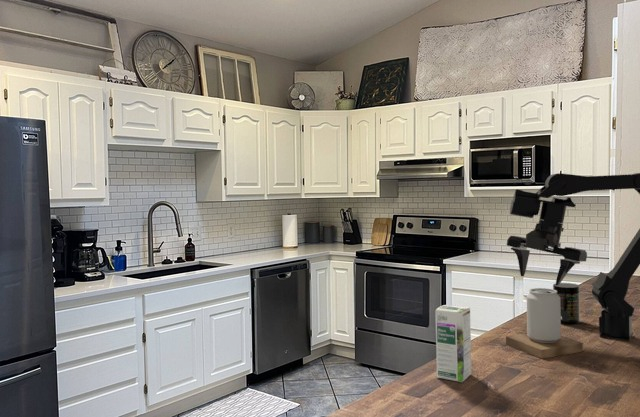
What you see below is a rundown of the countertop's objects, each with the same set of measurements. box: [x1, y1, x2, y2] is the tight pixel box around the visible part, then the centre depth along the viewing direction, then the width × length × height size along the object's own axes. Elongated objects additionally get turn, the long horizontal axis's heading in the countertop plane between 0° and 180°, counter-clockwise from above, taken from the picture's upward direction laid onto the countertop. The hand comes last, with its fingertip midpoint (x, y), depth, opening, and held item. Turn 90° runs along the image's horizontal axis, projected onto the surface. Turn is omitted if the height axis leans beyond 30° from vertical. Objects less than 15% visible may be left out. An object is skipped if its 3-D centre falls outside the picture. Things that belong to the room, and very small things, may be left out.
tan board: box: [505, 332, 584, 360], centre depth 127 cm, size 12×12×2 cm
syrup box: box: [434, 304, 472, 383], centre depth 110 cm, size 6×6×14 cm
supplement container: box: [552, 282, 581, 326], centre depth 149 cm, size 7×7×10 cm
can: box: [526, 287, 562, 343], centre depth 127 cm, size 8×8×12 cm
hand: (539, 280), depth 137 cm, fingers open, 9 cm apart
